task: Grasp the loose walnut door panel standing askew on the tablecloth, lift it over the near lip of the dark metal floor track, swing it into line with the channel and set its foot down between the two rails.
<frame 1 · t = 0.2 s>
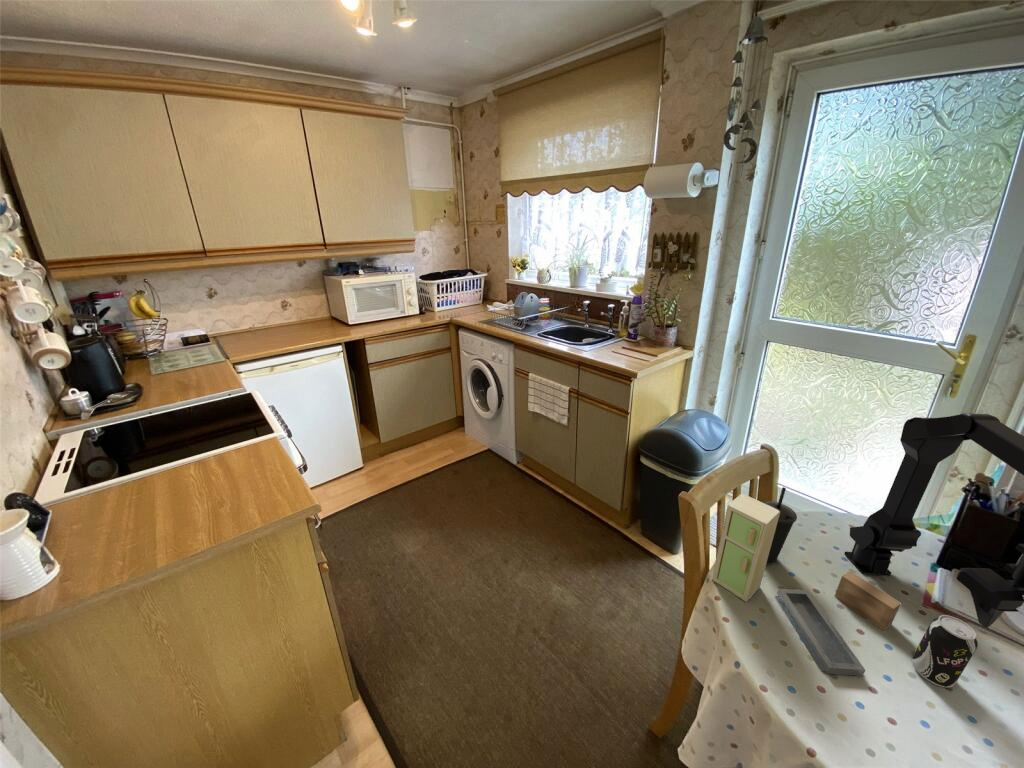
hand: (1011, 626, 67), 14 cm above the table, fingers open, 9 cm apart
toy refrigerator: (733, 584, 93), on the table
drinking cup: (764, 557, 100), on the table
floor track: (815, 632, 82), on the table
door panel: (861, 610, 86), on the table
beverage can: (930, 674, 74), on the table
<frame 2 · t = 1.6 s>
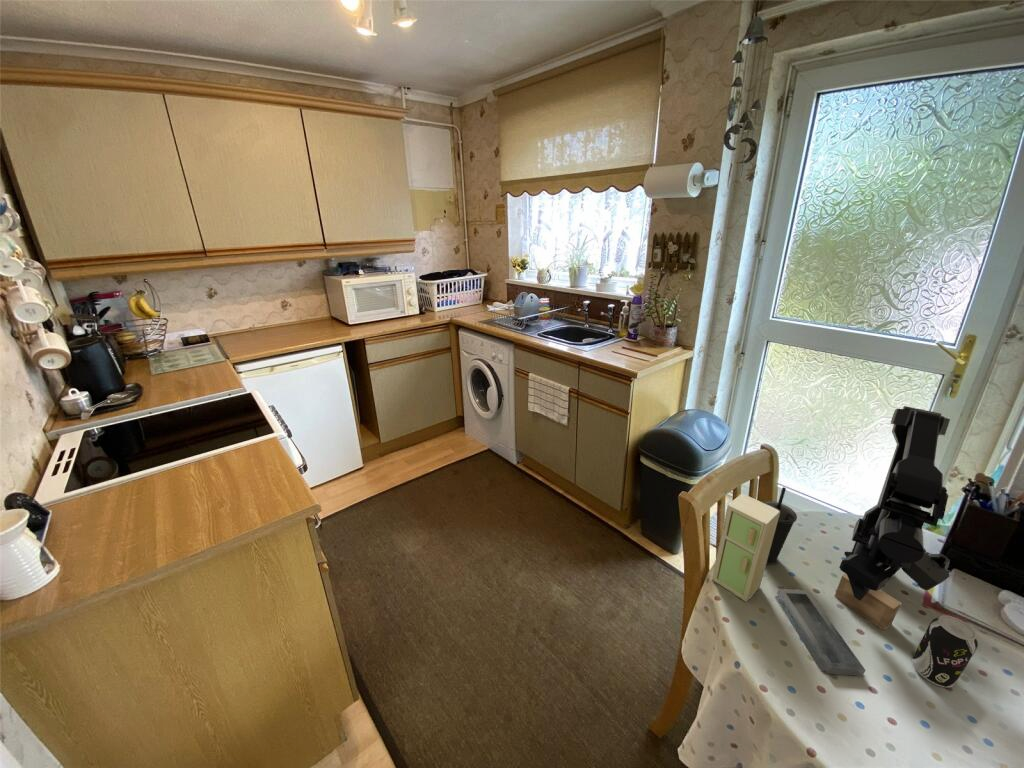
hand: (870, 590, 84), 5 cm above the table, fingers open, 9 cm apart
nothing on the table moved.
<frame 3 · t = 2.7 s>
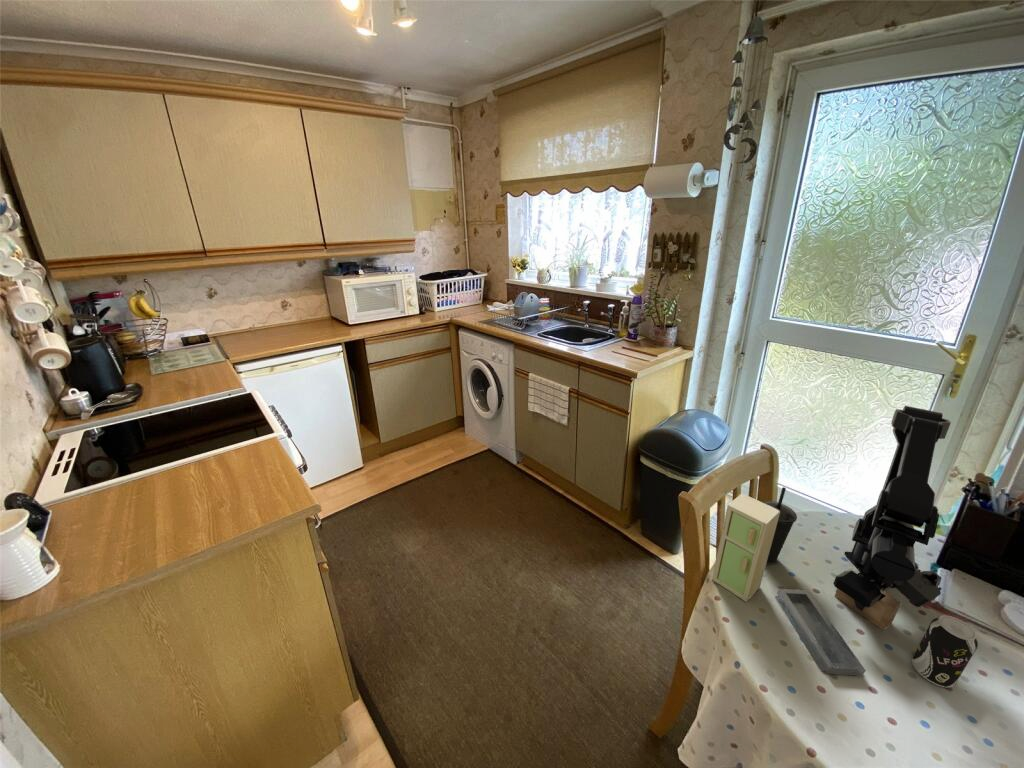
hand: (863, 605, 86), 1 cm above the table, fingers closed on door panel, 3 cm apart
door panel: (861, 609, 86), on the table, touching gripper
everything else where it was.
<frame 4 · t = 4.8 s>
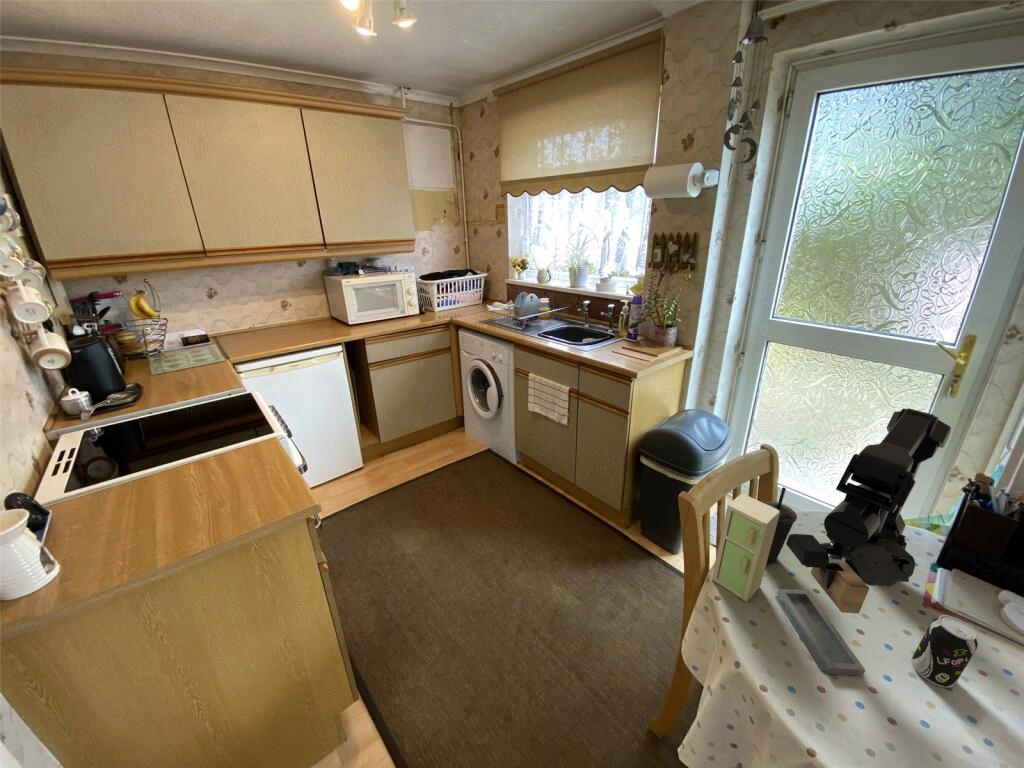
hand: (834, 587, 77), 12 cm above the table, fingers closed on door panel, 3 cm apart
door panel: (833, 592, 78), point 11 cm above the table, touching gripper
everything else where it was.
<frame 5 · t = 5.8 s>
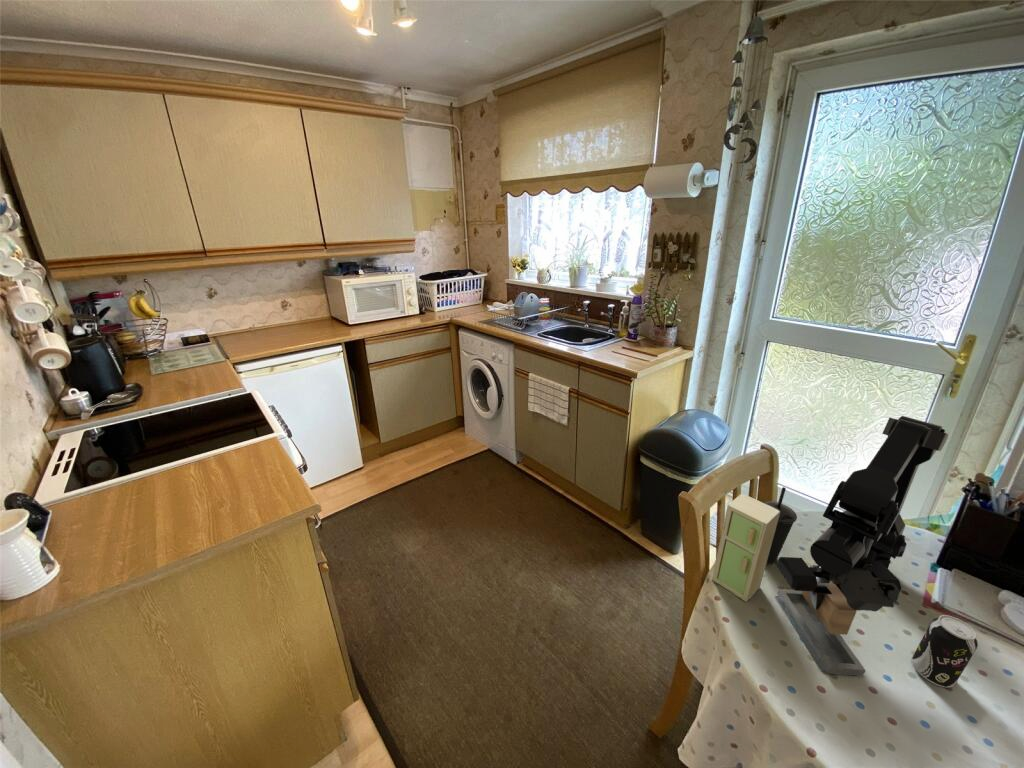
hand: (824, 607, 79), 7 cm above the table, fingers closed on door panel, 3 cm apart
door panel: (822, 612, 80), point 5 cm above the table, touching gripper
everything else where it was.
when the fingers open (3 cm above the table, at t = 6.7 s): door panel drops 1 cm, resting on floor track.
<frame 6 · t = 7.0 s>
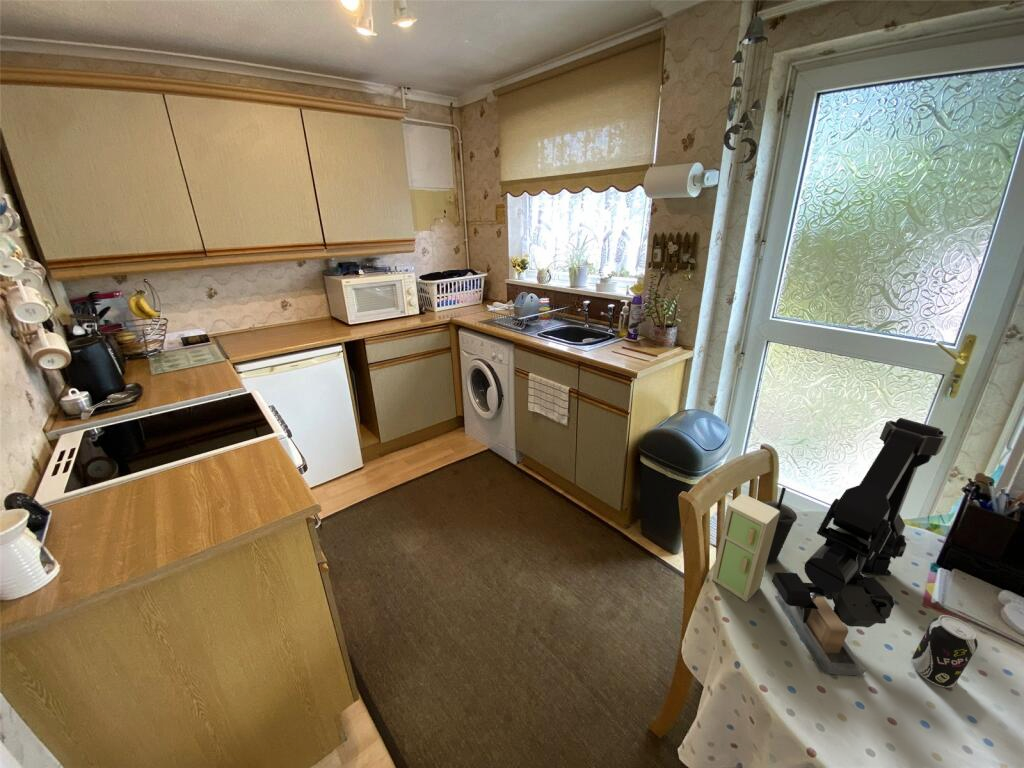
hand: (818, 622, 81), 3 cm above the table, fingers open, 6 cm apart
door panel: (816, 630, 81), resting on floor track
everything else where it was.
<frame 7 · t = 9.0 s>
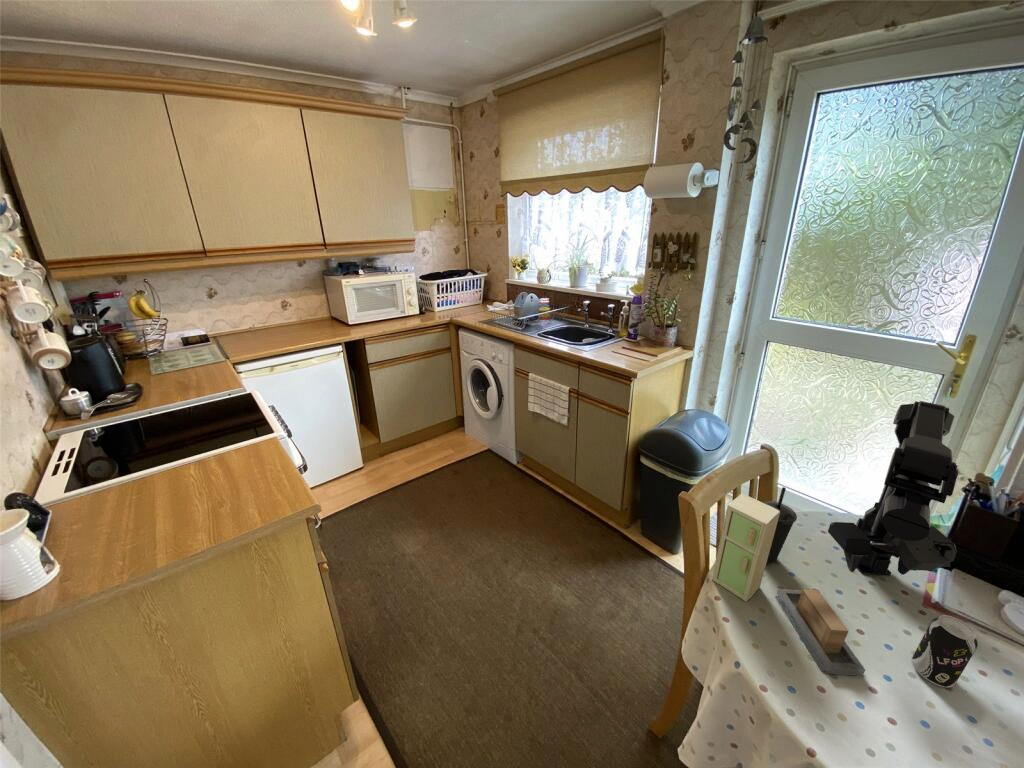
hand: (875, 571, 81), 11 cm above the table, fingers open, 9 cm apart
nothing on the table moved.
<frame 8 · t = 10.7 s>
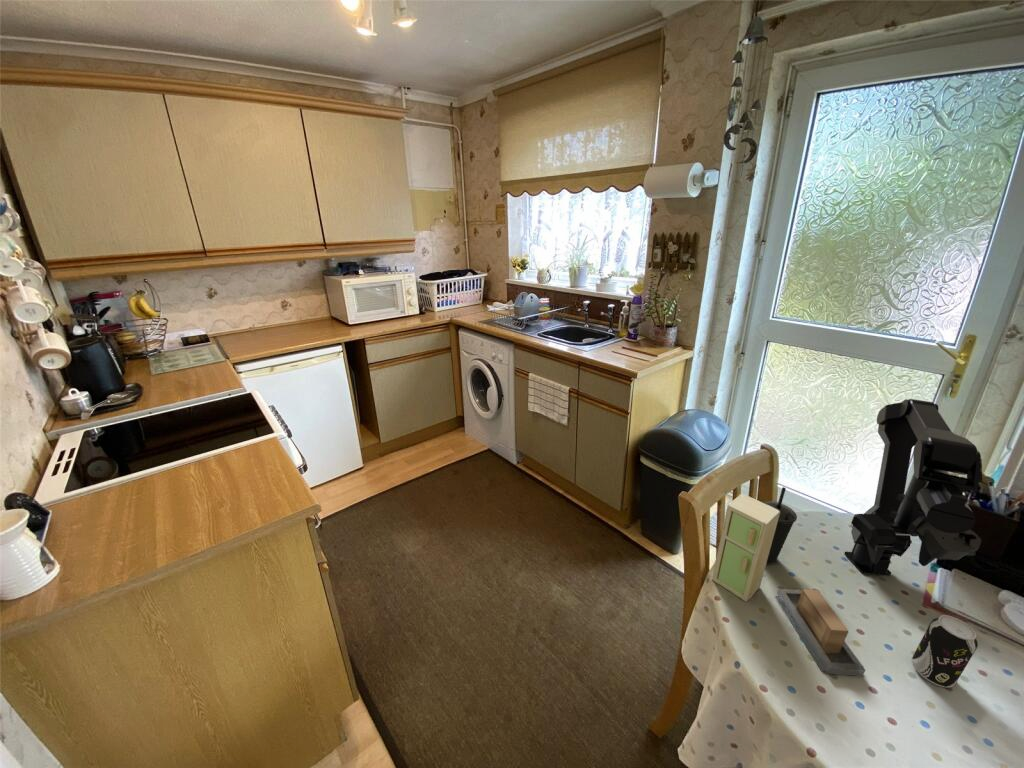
hand: (897, 563, 82), 12 cm above the table, fingers open, 9 cm apart
nothing on the table moved.
at the end: door panel 0.1 cm off-centre on the floor track, point 0.4 cm above the floor track's base; door panel tilted 0°; the gripper is holding nothing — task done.
